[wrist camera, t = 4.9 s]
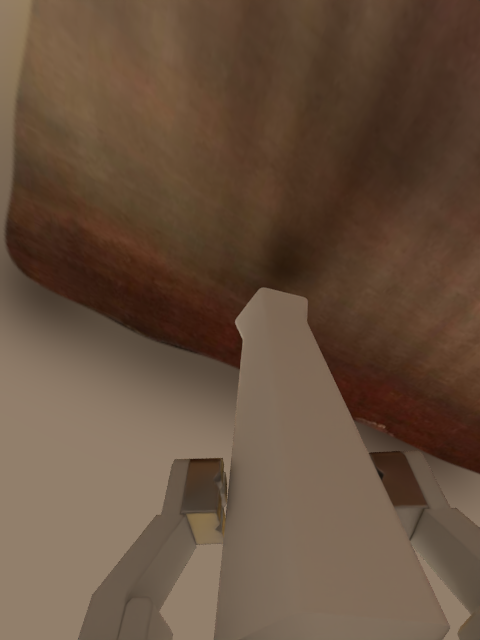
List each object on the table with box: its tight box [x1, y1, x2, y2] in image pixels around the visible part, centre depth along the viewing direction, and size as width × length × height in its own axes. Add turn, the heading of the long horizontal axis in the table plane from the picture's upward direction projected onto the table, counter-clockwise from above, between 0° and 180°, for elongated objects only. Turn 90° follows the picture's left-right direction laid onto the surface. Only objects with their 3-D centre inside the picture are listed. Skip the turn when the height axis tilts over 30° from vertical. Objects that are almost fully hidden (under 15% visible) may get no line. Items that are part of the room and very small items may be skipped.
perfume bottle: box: [214, 288, 450, 640], centre depth 11 cm, size 5×4×15 cm
